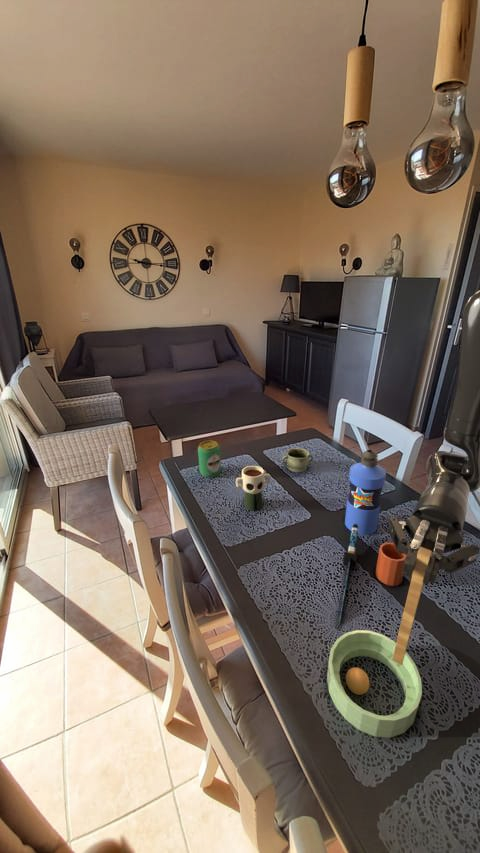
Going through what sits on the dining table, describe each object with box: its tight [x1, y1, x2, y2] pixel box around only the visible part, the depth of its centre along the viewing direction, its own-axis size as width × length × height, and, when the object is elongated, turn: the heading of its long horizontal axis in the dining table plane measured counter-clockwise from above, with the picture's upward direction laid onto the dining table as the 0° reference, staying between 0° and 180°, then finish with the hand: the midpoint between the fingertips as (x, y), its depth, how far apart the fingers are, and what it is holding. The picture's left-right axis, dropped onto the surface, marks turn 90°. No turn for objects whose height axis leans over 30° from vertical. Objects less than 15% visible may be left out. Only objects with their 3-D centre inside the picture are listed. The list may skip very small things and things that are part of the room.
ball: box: [345, 666, 370, 696], centre depth 64 cm, size 4×4×4 cm
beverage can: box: [197, 440, 222, 479], centre depth 134 cm, size 8×8×12 cm
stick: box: [392, 547, 433, 665], centre depth 57 cm, size 2×2×24 cm
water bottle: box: [344, 449, 387, 536], centre depth 102 cm, size 9×9×25 cm
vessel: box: [281, 447, 314, 473], centre depth 138 cm, size 12×9×6 cm
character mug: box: [235, 465, 271, 511], centre depth 115 cm, size 11×7×13 cm, turn 101°
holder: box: [375, 541, 406, 587], centre depth 86 cm, size 6×6×9 cm
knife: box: [338, 524, 359, 626], centre depth 88 cm, size 31×3×4 cm, turn 155°
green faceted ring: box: [326, 629, 423, 738], centre depth 64 cm, size 15×15×6 cm
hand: (418, 575), depth 50 cm, fingers closed on stick, 1 cm apart
